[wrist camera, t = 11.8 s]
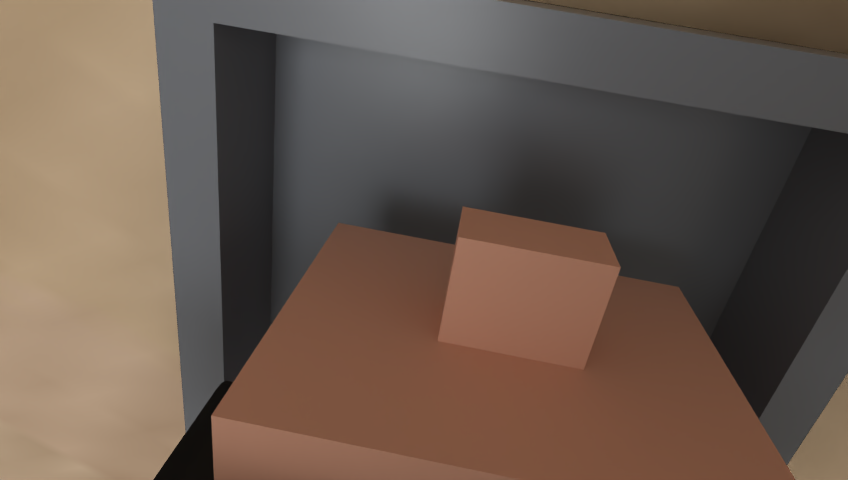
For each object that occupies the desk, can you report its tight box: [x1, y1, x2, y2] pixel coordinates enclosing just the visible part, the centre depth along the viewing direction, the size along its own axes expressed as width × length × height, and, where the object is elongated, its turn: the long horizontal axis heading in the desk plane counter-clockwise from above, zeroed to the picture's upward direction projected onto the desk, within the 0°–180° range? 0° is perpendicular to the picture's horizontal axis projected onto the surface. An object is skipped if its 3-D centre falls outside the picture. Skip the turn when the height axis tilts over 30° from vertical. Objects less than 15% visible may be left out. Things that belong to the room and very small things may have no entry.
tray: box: [153, 0, 848, 465], centre depth 12 cm, size 13×13×4 cm
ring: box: [211, 207, 795, 480], centre depth 9 cm, size 6×8×5 cm
